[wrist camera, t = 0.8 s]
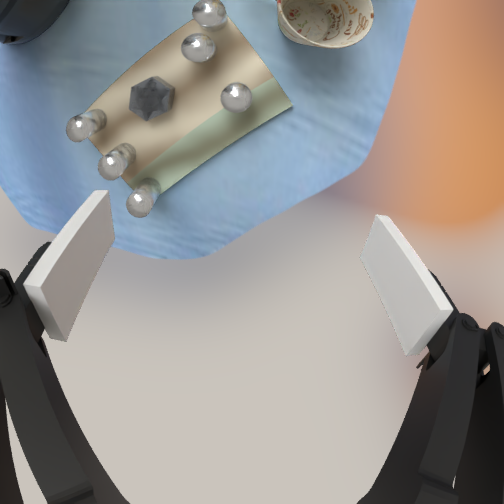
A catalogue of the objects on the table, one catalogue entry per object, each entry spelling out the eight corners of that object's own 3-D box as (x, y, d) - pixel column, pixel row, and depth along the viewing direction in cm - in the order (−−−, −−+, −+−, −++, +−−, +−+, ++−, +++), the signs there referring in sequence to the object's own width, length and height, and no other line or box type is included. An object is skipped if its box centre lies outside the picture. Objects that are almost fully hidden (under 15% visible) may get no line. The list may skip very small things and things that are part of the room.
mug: (317, 66, 28) (346, 66, 20) (220, 16, 24) (212, -4, 16) (351, 16, 24) (388, 3, 16) (256, -35, 20) (262, -69, 12)
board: (79, 120, 30) (75, 122, 29) (218, 6, 23) (217, 3, 22) (149, 201, 37) (146, 205, 36) (291, 104, 31) (293, 105, 30)
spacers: (77, 120, 29) (57, 129, 25) (217, 3, 22) (213, -8, 18) (149, 203, 36) (138, 222, 32) (293, 105, 30) (301, 111, 26)
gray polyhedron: (128, 100, 28) (120, 103, 26) (149, 70, 27) (142, 70, 24) (160, 123, 30) (155, 127, 28) (183, 94, 29) (179, 95, 27)
